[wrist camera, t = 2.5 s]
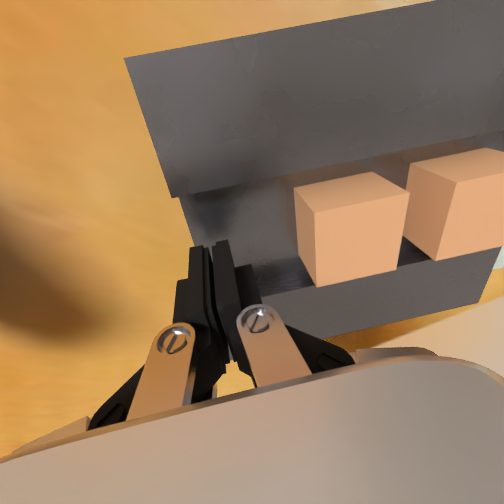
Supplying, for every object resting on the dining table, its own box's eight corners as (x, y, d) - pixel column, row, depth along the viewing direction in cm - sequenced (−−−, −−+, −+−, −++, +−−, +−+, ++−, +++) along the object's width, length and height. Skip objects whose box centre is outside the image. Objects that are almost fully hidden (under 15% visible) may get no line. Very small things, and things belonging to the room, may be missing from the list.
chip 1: (371, 171, 13) (410, 192, 11) (365, 239, 16) (396, 269, 13) (293, 187, 13) (314, 212, 11) (298, 253, 16) (316, 287, 13)
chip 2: (485, 147, 14) (548, 162, 11) (463, 217, 16) (511, 243, 13) (410, 163, 14) (456, 182, 11) (398, 232, 16) (435, 261, 13)
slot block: (501, -2, 13) (622, -35, 9) (430, 264, 22) (478, 302, 18) (148, 64, 12) (123, 57, 9) (223, 310, 21) (227, 360, 17)
